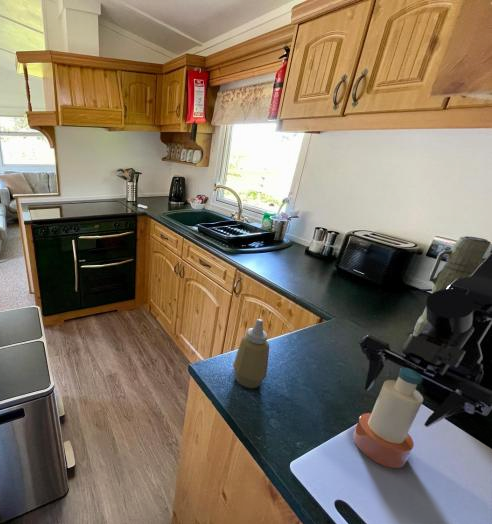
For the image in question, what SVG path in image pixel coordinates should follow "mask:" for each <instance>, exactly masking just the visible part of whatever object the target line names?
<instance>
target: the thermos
mask: <svg viewBox="0 0 492 524" xmlns="http://www.w3.org/2000/svg"><path fill="white" fill-rule="evenodd" d="M490 244H492V242H491V241H489V240H488V239H486V238H482V237H476V236H466V235H465V236H461V237H459V238H458V240H456V241H455V243H454V244H452V246H451V249H449V248H448V249H443V250H442V251H440V252H438V254H437V257H436V258H435V262H434V263H433V266H432V268H431V271H430V274H429V277H428V281H429V282H432V287H431V294H432V293H434V292H436V291H439V290H440V289H442V288H443V287H445V286H446V287H448V286H449V285H450V284H451V283H452V282H454V281H455V280H456V279H458V278H464V277H469V276H471V275H472V274H473V272H474V271H475V270H476V269H477V268H478V267H479V266H480V265H481V264H482V263H483V259H482V258H483V256H484V254H485V252H486V250H487V249H488V247H489V245H490ZM445 254H447V255H448V256H447V258H446V263H445V264H444V265H443V268H442V269H441V270H440V271H438V268H439V266H440V264H441V261H442V259H443V257H444V256H445ZM437 271H438V272H437ZM435 275H436V276H435ZM427 323H428V321H427V310H426V307H425V308H424V310H423V313H422V314H421V315H420V316H419V318H418V319H417V321H416V323H415V326H414V328H413V330H414V331H413V332H412V334H411V335H414V336H416V337H417V336H418V334H420V332H422V330H423V329H424V328H425V326H426V325H427Z"/></svg>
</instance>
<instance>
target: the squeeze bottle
mask: <svg viewBox="0 0 492 524" xmlns="http://www.w3.org/2000/svg"><path fill="white" fill-rule="evenodd" d="M269 355H270V343H269V341H268V334H267V332H266V331H264V321H263V319H262V318H257V319H256V321H255V323H254V325H253V327H250V328H248V329H247V330H246V334H244V335H243V336H241V340H240V343H239V346H238V349H237V353H236V355H235V359H234V361H233V365H232V366H233V371H234V376H235V379H236V381H237V383H238V384H239V385H241V386H242V387H245V388H247V389H257V388H258V387H259V386H260V385H261V384H262V383H263V381H264V380H265V379H266V377H267V374H268V366H269V365H268V364H269Z"/></svg>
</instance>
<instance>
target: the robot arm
mask: <svg viewBox="0 0 492 524" xmlns="http://www.w3.org/2000/svg"><path fill="white" fill-rule="evenodd" d="M482 259H483V263H482V264H481V265H480V266H479V267H478V268H477V269H476V270H475V271H474V272H473V274H472V275H471V276H469V277H464V278H458V279H456V280H455V281H454V282H452V283H451V284H450V285H449V286H448V287H446V286H445V287H443V288H442V289H440V290H439V291H436V292H434V293H432V292H431V293H430V294H429V295H428V296H427V298H426V300H425V308H426V310H427V321H428V323H427V325H426V326H425V328H424V329H423V330H422V332H420V334H418V336H417V337H416V336H414V335H412V334H411V333H410V334H409V335H408V336H407V339H406V341H405V342H404V344H403V346H402V347H401V350H402V354H403V355H404V356H403V355H401V354H399V353H397V352H395V351H393V350H391V347H390V343H388V342H387V341H384V340H382V339H380V338H377V337H376V336H373V335H371V334H367V335H365V336H363V337H362V338H361V340H360V341H359V347H360V349H361V352H362V353H363V354H364V355H365V357H366V360H368V370H367V376H366V381H365V386H364V390H365V391H366V392H369V390H370V389H371V388H372V387H373V386H374V384H375V383H376V381H377V379H378V378H379V376H380V374H381V372H382V371H383V369H384V367H385V364H384V362H387V360H388V361H390V362H392V363H394V364H395V365H398V366H400V367H401V368H409V369H412V370H414V371H416V372H418V373H419V374H420V375H421V376H422V379H421V381H420V386H421V387H422V391H423V393H424V394H426V395H429V396H432V397H434V398H436V399H439V400H441V401H443V402H442V403H441V404H440V405H439V406H438V407H437V408H436V409H435V410H434V411H433V412H432V413H431V414H430V415H429V416H428V418H427V420H426V421H425V422H424V425H423V426H424V427H426V428H429V427H431V426H433V425H434V424H436V423H438V422H441V421H442V420H444V419H446V418H449V417H451V416H455V415H456V414H459V413H463V412H466V413H468V414H470V415H474V414H475V413H478V414H480V415H483V416H484V417H488V415H489V414H490V412H491V411H492V390H491V389H488V388H486V387H484V386H482V385H480V383H481V381H482V379H483V376H484V373H485V371H484V370H483V369H484V364H482V363H481V362H482V361H483V358H484V356H483V352H482V349H481V342H482V341H483V339H484V337H485V336H486V334H487V333H488V332H489V329H490V328H491V327H492V243H491V244H490V245H489V247H488V249H487V250H486V252H485V254H484V256H483V258H482Z"/></svg>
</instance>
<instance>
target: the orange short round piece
mask: <svg viewBox="0 0 492 524" xmlns="http://www.w3.org/2000/svg"><path fill="white" fill-rule="evenodd" d="M371 413H372V412H367V413H366V412H365V413H362V414H361V415H360V416H359V418H358V421H357V423H356V426H355V428H354V431H353V433H352V437H353V441H354V444H355V445H356V446H357V447H358V449H359V450H360V451H361V452H362V453H363V454H364V455H365V456H366V457H367V458H369V459H371V460H372V461H374V462H376V463H377V464H379V465H381V466H384V467H387V468H392V469H400V468H402V467H404V466H405V465H406V463H407V460H408V458H409V457H410V455H411V453H412V451H413V449H414V445H415V444H414V441H413V438H412V436H411V435H410V434H409V432H408V433H407V436H406V438H405V440H404V442H403V443H400V444H395V443H391V442H388V441H385V440H383V439H382V438H380V437H379V436H377V435H376V434H375V433H374V432H373V431H372V430H371V429H370V427H369V425H368V421H369V418H370V416H371Z"/></svg>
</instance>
